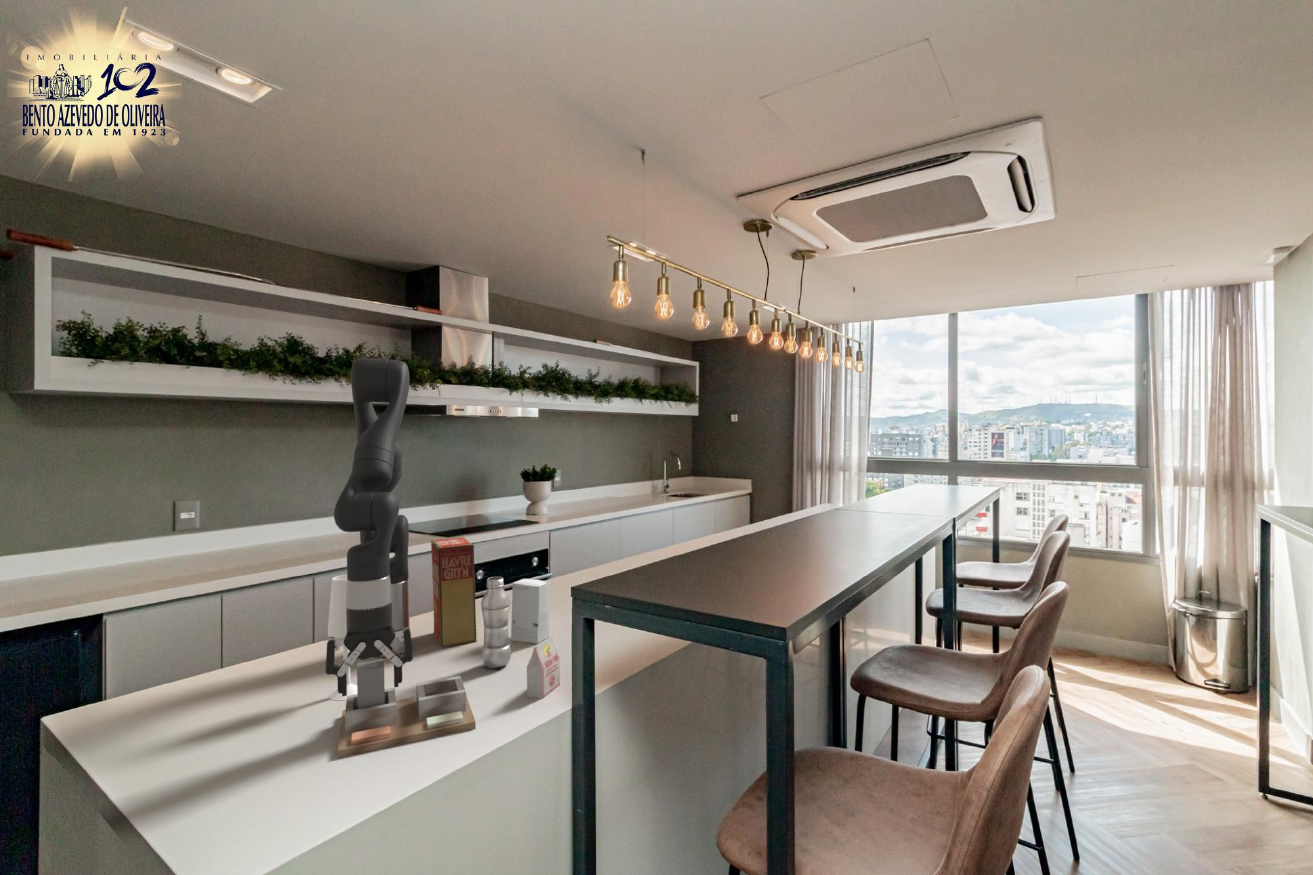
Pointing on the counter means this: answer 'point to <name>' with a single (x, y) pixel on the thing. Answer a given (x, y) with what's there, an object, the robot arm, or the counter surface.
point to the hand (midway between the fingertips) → (371, 689)
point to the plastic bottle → (495, 624)
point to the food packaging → (453, 591)
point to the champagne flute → (339, 626)
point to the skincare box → (530, 611)
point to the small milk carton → (543, 670)
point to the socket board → (406, 717)
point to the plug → (370, 683)
